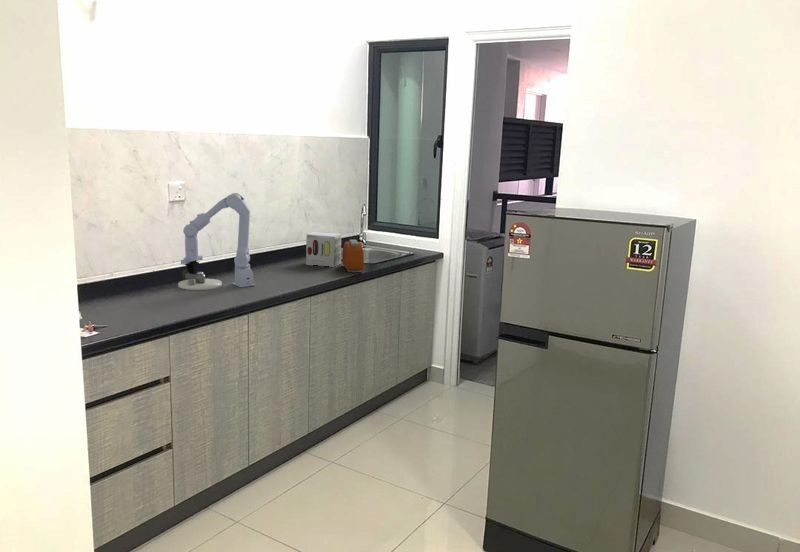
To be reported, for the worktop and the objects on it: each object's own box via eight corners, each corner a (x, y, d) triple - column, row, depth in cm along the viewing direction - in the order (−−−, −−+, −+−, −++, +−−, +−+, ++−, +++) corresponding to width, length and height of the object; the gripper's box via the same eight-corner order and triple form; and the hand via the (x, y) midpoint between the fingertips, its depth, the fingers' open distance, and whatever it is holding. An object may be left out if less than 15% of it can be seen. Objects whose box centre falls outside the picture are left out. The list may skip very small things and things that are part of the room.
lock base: (229, 287, 308) (229, 279, 307) (188, 292, 295) (188, 283, 294) (211, 279, 323) (210, 272, 322) (171, 284, 310) (171, 276, 309)
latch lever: (206, 281, 310) (206, 272, 309) (201, 283, 306) (200, 273, 305) (186, 279, 314) (185, 269, 313) (180, 280, 310) (179, 271, 309)
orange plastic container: (363, 273, 353) (364, 243, 350) (347, 273, 351) (348, 242, 348) (357, 265, 375) (358, 236, 372) (342, 265, 373) (342, 236, 370)
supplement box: (305, 265, 370) (305, 234, 366) (313, 261, 382) (313, 231, 379) (334, 267, 366) (334, 236, 362) (341, 263, 379) (341, 233, 375)
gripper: (193, 246, 317) (194, 273, 320) (174, 250, 304) (176, 278, 306) (205, 247, 315) (206, 274, 318) (187, 251, 302) (188, 280, 304)
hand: (192, 276), depth 312 cm, fingers closed
